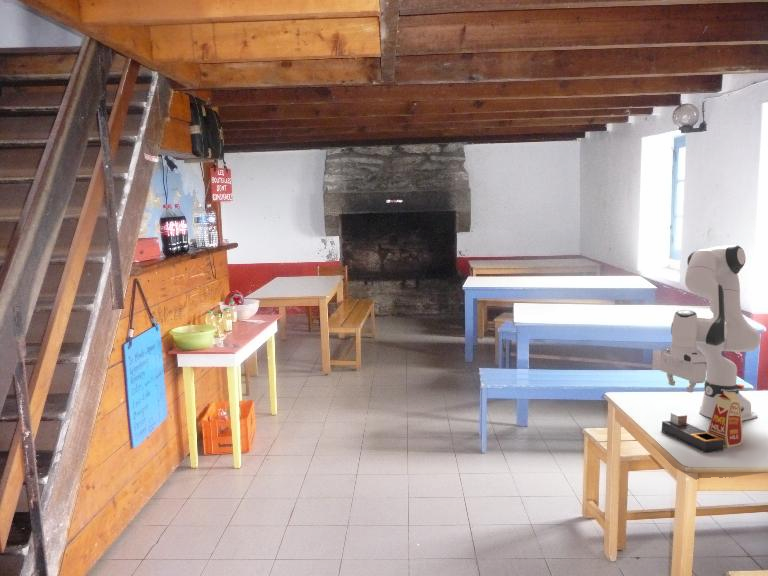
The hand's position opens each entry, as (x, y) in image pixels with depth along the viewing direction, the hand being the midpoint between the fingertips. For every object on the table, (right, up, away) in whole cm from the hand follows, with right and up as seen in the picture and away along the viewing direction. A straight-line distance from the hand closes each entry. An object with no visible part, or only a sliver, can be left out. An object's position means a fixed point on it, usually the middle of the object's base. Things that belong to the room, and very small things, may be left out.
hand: (680, 388), depth 230 cm
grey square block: (0, -18, +2) cm, 18 cm away
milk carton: (+14, -19, -5) cm, 24 cm away
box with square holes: (+2, -19, -4) cm, 20 cm away
